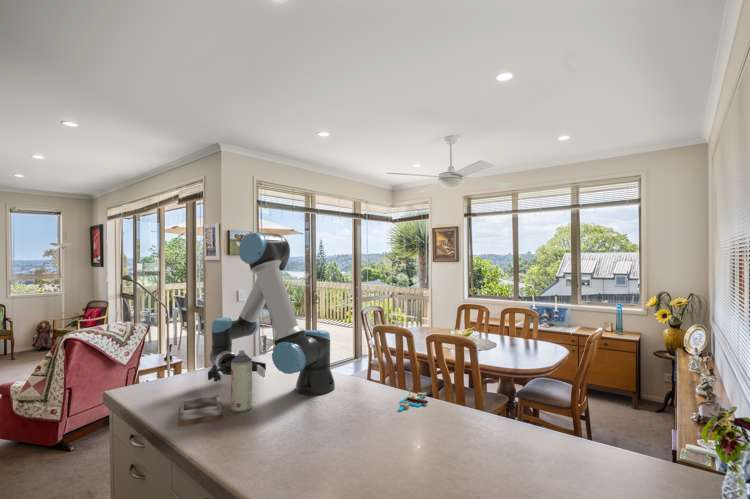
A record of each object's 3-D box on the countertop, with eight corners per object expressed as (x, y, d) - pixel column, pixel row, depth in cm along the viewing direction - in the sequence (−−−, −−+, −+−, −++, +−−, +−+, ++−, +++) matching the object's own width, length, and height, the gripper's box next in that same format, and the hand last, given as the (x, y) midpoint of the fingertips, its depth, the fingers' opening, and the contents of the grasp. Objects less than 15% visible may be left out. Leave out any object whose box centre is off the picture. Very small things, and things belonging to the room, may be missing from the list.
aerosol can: (235, 405, 142) (235, 348, 142) (254, 405, 142) (254, 348, 142) (228, 413, 135) (228, 353, 135) (248, 412, 135) (248, 353, 135)
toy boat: (438, 398, 149) (416, 393, 155) (438, 383, 149) (416, 379, 155) (413, 416, 133) (389, 410, 138) (413, 399, 133) (389, 394, 138)
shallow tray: (220, 405, 142) (220, 394, 142) (222, 419, 130) (222, 406, 130) (179, 411, 136) (179, 399, 136) (178, 426, 124) (178, 413, 125)
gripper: (260, 367, 160) (279, 381, 143) (193, 378, 146) (205, 394, 129) (260, 348, 161) (279, 359, 143) (193, 357, 147) (205, 371, 129)
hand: (244, 376), depth 136 cm, fingers open, 13 cm apart
